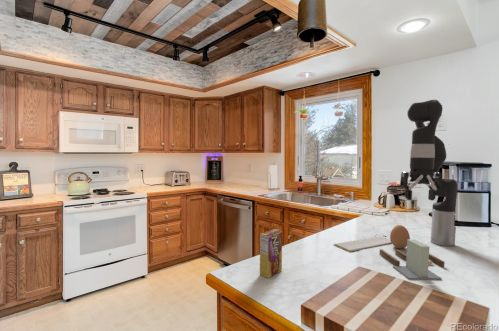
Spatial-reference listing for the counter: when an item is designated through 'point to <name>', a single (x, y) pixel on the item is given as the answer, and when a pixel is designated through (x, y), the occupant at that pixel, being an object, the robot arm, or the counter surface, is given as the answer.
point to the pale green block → (417, 257)
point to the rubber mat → (413, 276)
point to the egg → (399, 236)
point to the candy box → (270, 253)
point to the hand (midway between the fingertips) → (420, 200)
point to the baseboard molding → (363, 243)
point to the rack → (403, 256)
